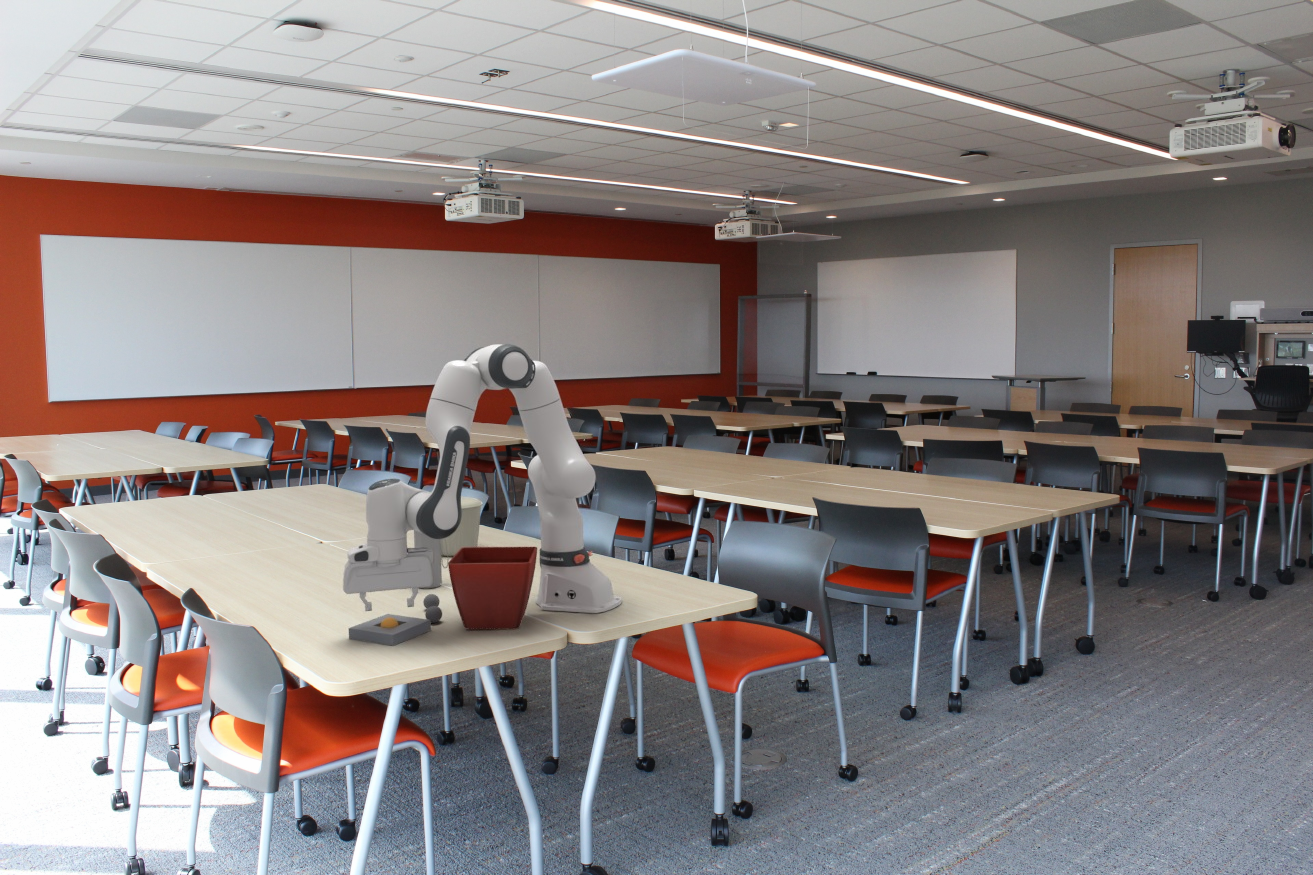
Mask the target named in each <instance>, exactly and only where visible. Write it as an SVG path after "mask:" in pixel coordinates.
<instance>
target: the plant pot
mask: <svg viewBox="0 0 1313 875" xmlns="http://www.w3.org/2000/svg"><path fill="white" fill-rule="evenodd" d="M537 554H538V547H537V546H477V547H464V548H460V550H459V551H458V552H457V553H456V555H455V556H452V558H451V559H450V560H448V567H447V568H448V572H449V578H450V583H451V587H452V588H451V589H452V592H453V597H454V601H455V603H456V607H457V611H458V613H459V616H460V619H461V622H462V624H463V626H464V628H465V629H466V630H517V629H519V628H520V627H521V625H522V622H523V619H524V618H525V614H526V611H527V607H528V604H529V598H530V595H531V590H532V587H533V581H534V576H535V570H536V564H537V557H538V556H537Z"/></svg>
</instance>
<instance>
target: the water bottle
mask: <svg viewBox="0 0 1313 875" xmlns="http://www.w3.org/2000/svg"><path fill="white" fill-rule="evenodd" d="M413 543H414V547H413V548H421V547H427V548H428V549H431V550H432V551H433V553H434V562H433V564H432V565H431V566H432V571H433V579H434V582H433V584H432V585H431V586H429V587H419V588H418V589H424V590H425V589H428V590H429V589H435V588H438V587H440V586H441V584H442V583H443V580H442V579H443V578H442V577H443V575H442V567H443V569H448V568H449V567H448V562H449V560H447V564H446V566H444V561H443V559H442V555H441V540H440V539H433V538H431V537H429V536H427V535H425V534H423V533H421V532H418V531H415V530H413ZM445 543H446V540H445ZM446 550H447V547H446ZM427 551H429V550H427ZM446 557H447V558H449V556H448V553H447V556H446Z"/></svg>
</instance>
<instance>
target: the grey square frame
mask: <svg viewBox="0 0 1313 875" xmlns="http://www.w3.org/2000/svg"><path fill="white" fill-rule="evenodd" d="M388 617H391V618H394V619H396V620H397V622H398V626H396V627H394V628H385V627H381V623H382V621H383V620H384V619H385V618H388ZM431 630H432V624H431V620H428V619H426V618H421V617H420V618H419V617H413V616H406V615H398V614H392V613H387V614H384V615H381V616H378V617H375V618H372V619H370V620H367V621H364V622H362V623H360V624H357V625H356V624H355V625H353V626H351V627H348V639H349V640H352V641H353V640H355V641H361V642H366V643H372V644H373V643H374V644H378V645H379V644H380V645H385V646H396V645H399V644H401V643H404V642H406V641H408V640H411V639H414V638H416V637H418V636H420V635H423V634H425V633H427V632H430V631H431Z"/></svg>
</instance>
